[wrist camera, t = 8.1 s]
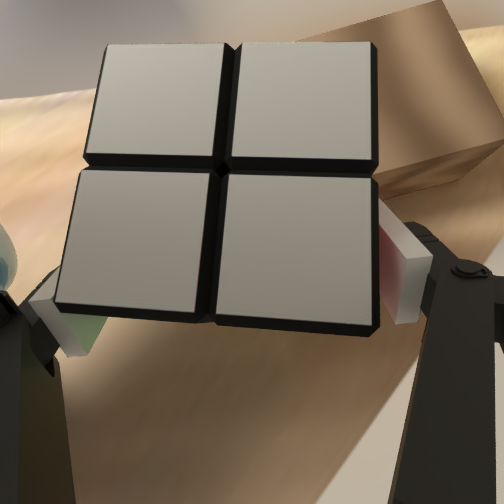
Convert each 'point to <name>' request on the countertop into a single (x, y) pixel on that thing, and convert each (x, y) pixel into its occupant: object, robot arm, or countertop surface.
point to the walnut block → (425, 99)
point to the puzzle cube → (230, 188)
